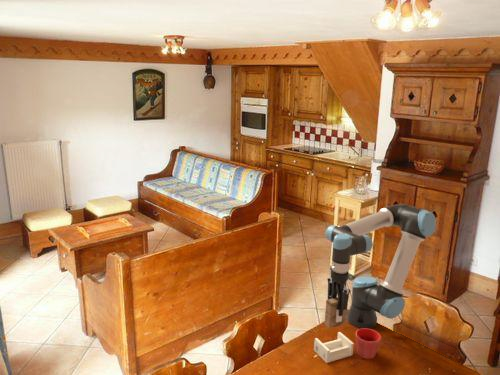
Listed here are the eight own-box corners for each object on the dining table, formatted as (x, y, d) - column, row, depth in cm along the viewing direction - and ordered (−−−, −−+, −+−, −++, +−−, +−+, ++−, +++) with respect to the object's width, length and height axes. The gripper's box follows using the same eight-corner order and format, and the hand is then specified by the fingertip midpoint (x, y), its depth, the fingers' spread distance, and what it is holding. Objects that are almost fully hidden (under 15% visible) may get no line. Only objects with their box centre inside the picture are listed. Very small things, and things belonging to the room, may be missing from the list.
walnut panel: (329, 328, 189) (331, 303, 186) (324, 324, 192) (326, 299, 189) (345, 324, 193) (348, 299, 190) (340, 320, 196) (343, 296, 193)
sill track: (339, 343, 203) (340, 331, 202) (352, 355, 195) (353, 343, 193) (313, 350, 198) (314, 338, 196) (326, 363, 189) (327, 350, 187)
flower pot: (379, 362, 190) (382, 343, 188) (354, 359, 192) (356, 339, 190) (377, 348, 200) (379, 329, 198) (353, 345, 202) (355, 326, 200)
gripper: (321, 263, 192) (317, 311, 198) (344, 279, 178) (340, 330, 183) (335, 261, 195) (331, 308, 201) (359, 276, 181) (354, 326, 186)
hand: (335, 319), depth 192 cm, fingers closed on walnut panel, 3 cm apart
